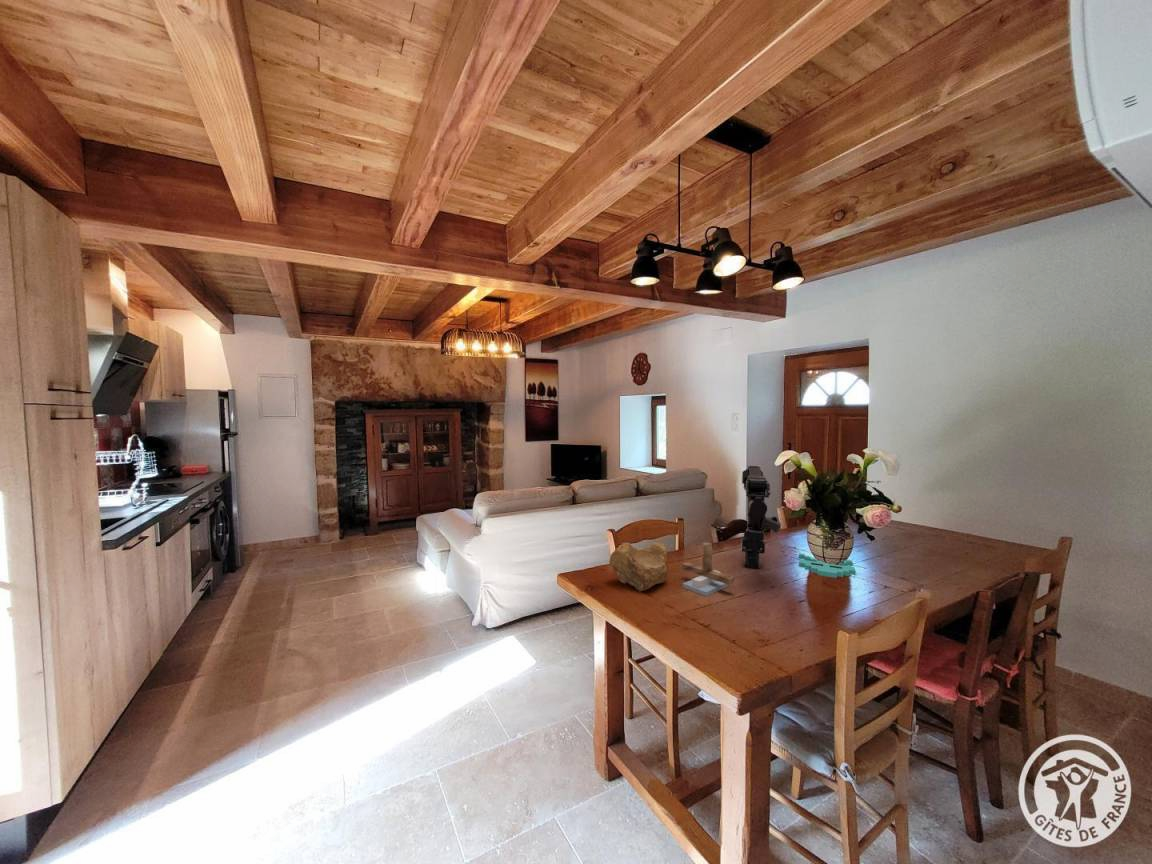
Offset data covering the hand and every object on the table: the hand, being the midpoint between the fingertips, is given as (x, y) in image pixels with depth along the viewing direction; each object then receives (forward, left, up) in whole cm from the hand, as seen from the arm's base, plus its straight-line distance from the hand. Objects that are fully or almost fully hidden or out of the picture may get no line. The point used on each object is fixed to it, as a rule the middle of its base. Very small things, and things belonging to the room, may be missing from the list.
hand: (755, 550), depth 163 cm
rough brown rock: (+21, -38, -12) cm, 45 cm away
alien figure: (-28, +26, -13) cm, 40 cm away
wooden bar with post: (+12, -16, -8) cm, 22 cm away
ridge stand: (+12, -16, -12) cm, 23 cm away
